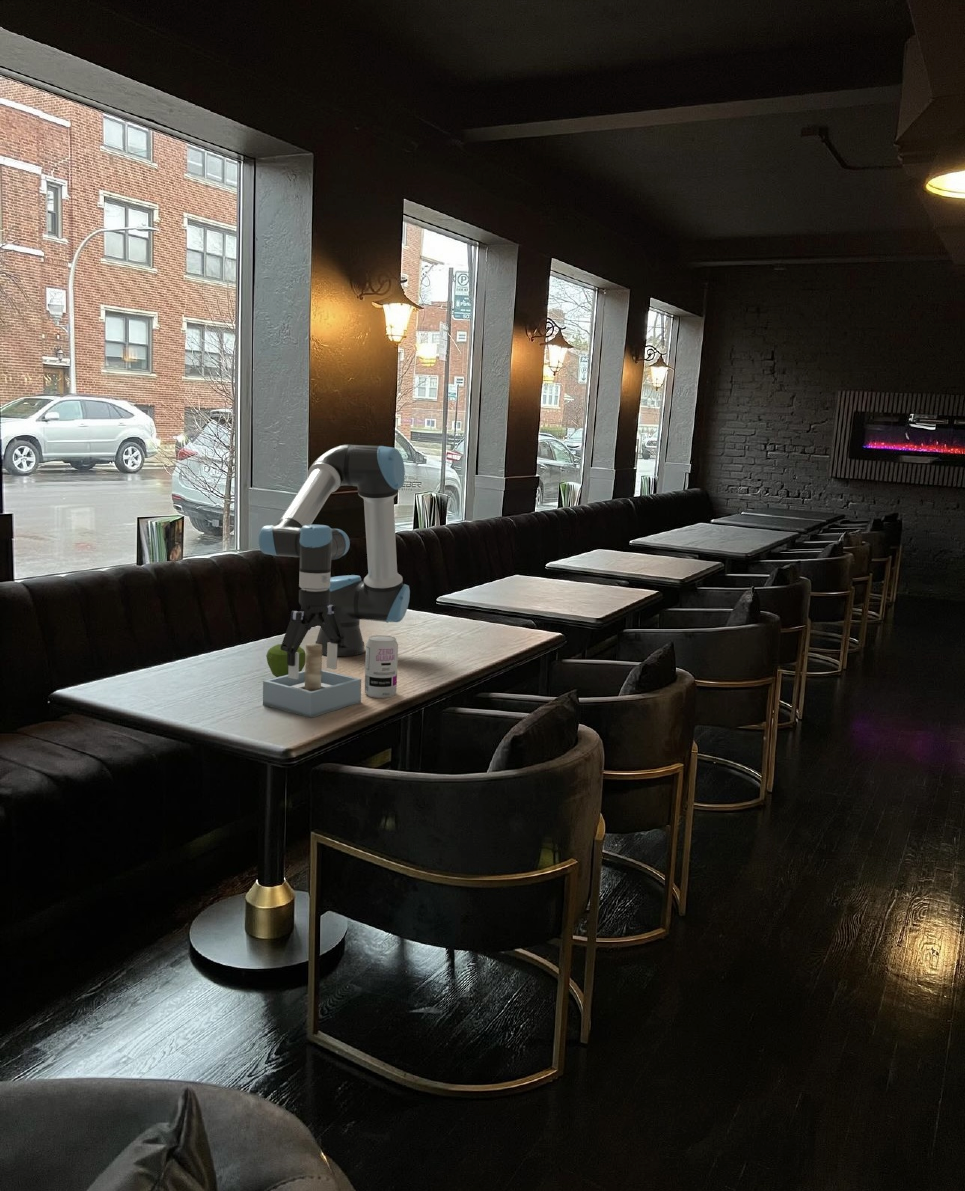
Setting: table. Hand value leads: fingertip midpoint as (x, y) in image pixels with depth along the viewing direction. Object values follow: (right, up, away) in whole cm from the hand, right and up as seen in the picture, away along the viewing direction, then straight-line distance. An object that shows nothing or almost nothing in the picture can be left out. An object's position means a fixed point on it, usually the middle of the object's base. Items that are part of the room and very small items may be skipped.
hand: (313, 673), depth 239 cm
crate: (0, -8, +1) cm, 8 cm away
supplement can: (+15, -7, +12) cm, 21 cm away
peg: (0, -7, +1) cm, 7 cm away
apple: (-11, -4, +23) cm, 25 cm away
